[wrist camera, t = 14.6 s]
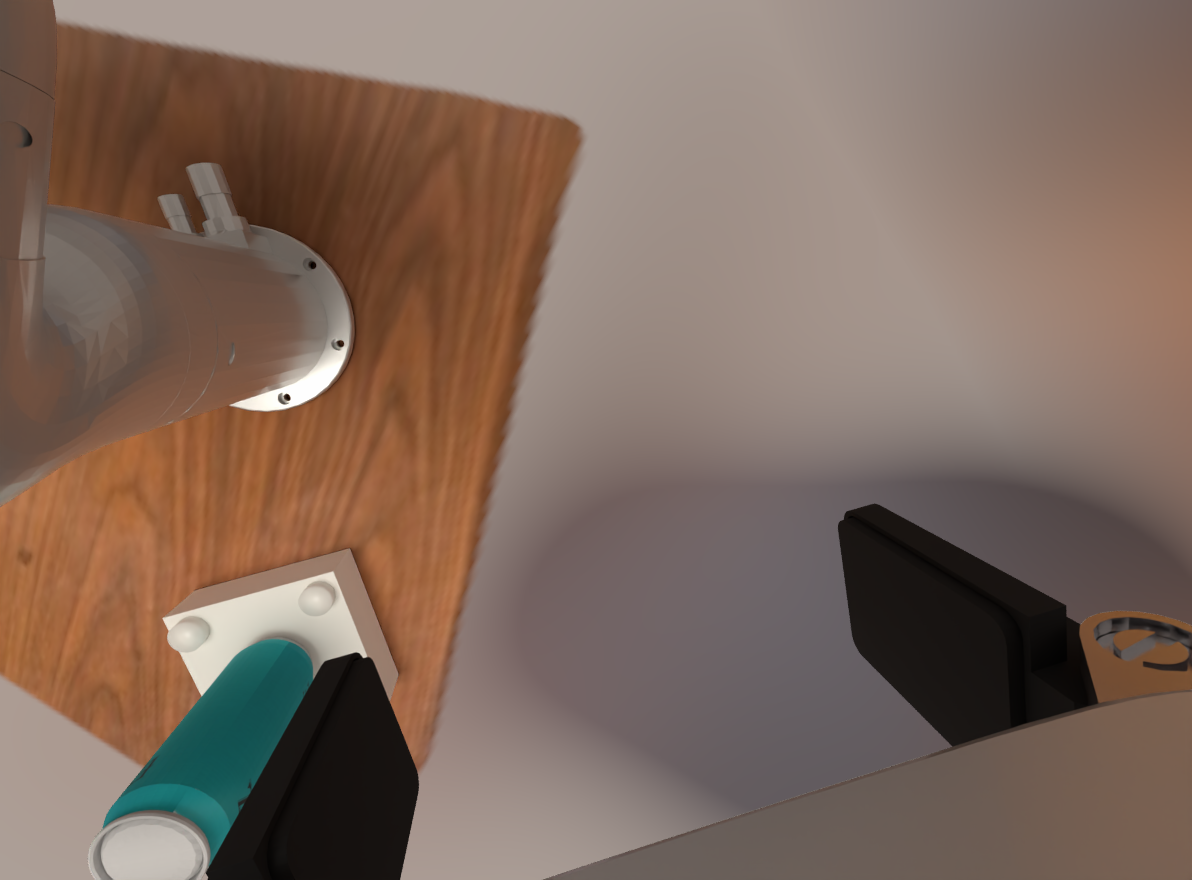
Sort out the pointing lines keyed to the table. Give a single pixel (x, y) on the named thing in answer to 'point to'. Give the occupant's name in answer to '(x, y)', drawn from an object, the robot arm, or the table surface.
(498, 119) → the table surface
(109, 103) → the table surface
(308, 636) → the brick
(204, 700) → the beverage can
